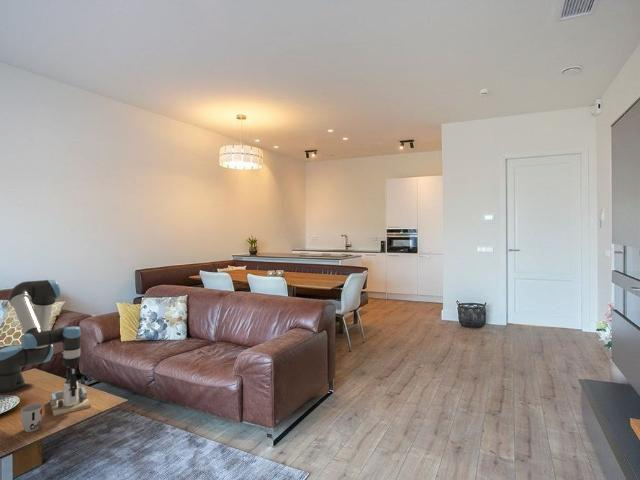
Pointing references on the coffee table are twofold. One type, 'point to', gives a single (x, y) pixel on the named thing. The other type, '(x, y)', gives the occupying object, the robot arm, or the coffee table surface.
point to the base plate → (63, 409)
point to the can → (67, 394)
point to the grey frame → (61, 394)
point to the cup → (31, 416)
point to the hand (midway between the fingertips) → (71, 398)
